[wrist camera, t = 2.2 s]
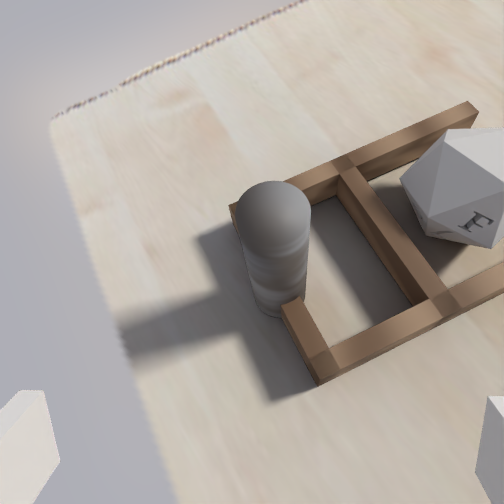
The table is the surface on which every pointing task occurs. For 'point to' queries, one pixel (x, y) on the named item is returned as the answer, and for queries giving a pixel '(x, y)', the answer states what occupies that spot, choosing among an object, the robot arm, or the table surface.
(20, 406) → the robot arm
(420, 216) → the die
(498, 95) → the table surface
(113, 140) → the table surface
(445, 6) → the table surface
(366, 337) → the frame
